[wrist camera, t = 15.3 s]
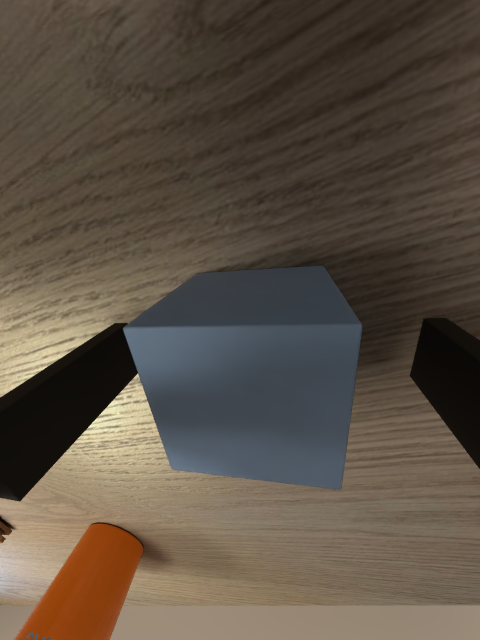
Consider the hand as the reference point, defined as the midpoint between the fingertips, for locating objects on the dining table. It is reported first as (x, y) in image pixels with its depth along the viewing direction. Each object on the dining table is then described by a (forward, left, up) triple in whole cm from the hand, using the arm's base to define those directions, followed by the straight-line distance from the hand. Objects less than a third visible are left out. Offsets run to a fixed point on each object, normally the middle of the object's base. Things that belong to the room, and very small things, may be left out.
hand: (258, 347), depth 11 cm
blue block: (0, 0, -2) cm, 2 cm away
